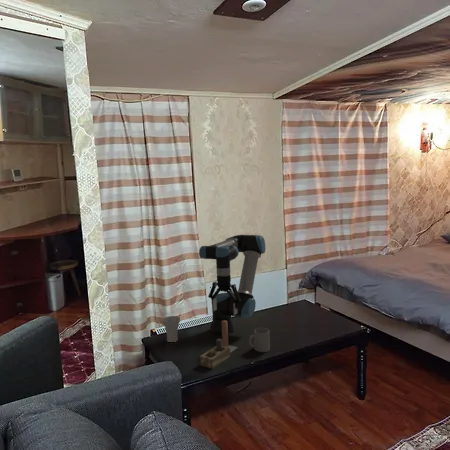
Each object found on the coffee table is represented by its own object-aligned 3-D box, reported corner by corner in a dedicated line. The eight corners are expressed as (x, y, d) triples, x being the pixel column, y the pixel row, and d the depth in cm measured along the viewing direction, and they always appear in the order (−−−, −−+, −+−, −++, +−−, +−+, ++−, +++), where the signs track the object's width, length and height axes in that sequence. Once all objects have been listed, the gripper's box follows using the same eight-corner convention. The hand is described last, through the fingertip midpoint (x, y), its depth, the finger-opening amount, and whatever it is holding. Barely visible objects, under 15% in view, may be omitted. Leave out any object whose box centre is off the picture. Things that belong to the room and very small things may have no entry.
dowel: (221, 349, 231) (220, 321, 229) (224, 347, 234) (223, 320, 232) (226, 350, 229) (225, 322, 227) (229, 348, 232) (228, 321, 230)
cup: (184, 338, 250) (182, 316, 248) (177, 345, 240) (176, 323, 238) (167, 336, 253) (166, 315, 251) (160, 343, 243) (159, 321, 241)
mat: (213, 351, 230) (213, 350, 230) (223, 344, 239) (223, 343, 239) (228, 354, 225) (228, 354, 225) (237, 347, 233) (237, 347, 233)
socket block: (200, 365, 214) (199, 347, 213) (218, 353, 227) (217, 335, 226) (213, 369, 210) (212, 350, 208) (230, 356, 223) (229, 338, 222)
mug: (265, 344, 236) (264, 326, 234) (272, 350, 228) (272, 331, 226) (246, 349, 231) (245, 330, 230) (253, 355, 224) (252, 335, 222)
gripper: (201, 273, 229) (202, 310, 232) (239, 278, 216) (241, 317, 219) (208, 270, 236) (210, 306, 239) (246, 275, 222) (248, 313, 225)
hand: (225, 312), depth 229 cm, fingers open, 13 cm apart
